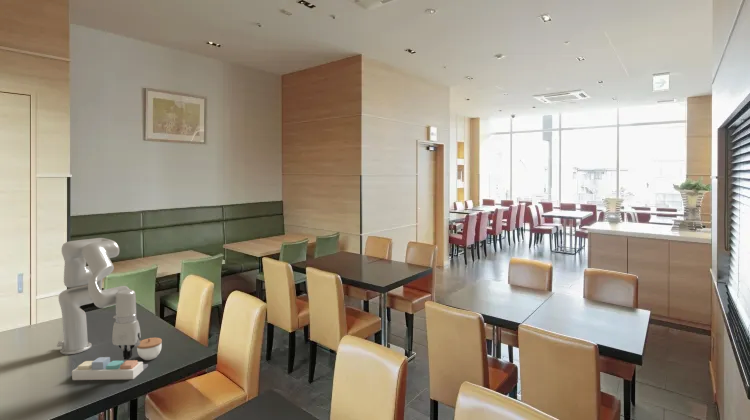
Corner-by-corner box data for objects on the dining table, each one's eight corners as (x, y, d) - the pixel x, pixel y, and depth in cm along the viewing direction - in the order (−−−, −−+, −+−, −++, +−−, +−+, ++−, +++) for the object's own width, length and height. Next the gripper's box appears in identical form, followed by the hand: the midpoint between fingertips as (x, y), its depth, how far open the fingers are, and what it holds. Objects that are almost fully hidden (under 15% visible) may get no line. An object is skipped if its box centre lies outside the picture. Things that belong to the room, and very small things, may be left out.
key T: (106, 376, 171) (105, 365, 171) (113, 371, 176) (112, 360, 175) (117, 376, 171) (117, 365, 171) (124, 371, 176) (123, 360, 175)
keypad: (72, 380, 169) (71, 371, 169) (91, 366, 181) (90, 358, 180) (133, 379, 170) (132, 370, 170) (148, 366, 182) (147, 357, 181)
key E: (78, 377, 170) (77, 366, 170) (86, 371, 175) (85, 361, 175) (89, 377, 171) (89, 366, 170) (97, 371, 175) (96, 360, 175)
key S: (92, 373, 171) (91, 362, 170) (99, 368, 175) (99, 357, 175) (103, 373, 171) (102, 362, 170) (110, 367, 176) (109, 357, 175)
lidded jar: (144, 364, 183) (143, 345, 182) (132, 358, 189) (131, 340, 188) (167, 355, 192) (166, 337, 192) (154, 350, 198) (154, 332, 197)
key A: (120, 376, 171) (120, 365, 171) (127, 371, 176) (126, 360, 176) (131, 376, 171) (131, 365, 171) (138, 370, 176) (137, 360, 176)
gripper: (103, 321, 168) (105, 362, 169) (138, 321, 168) (140, 362, 170) (114, 315, 175) (115, 354, 177) (148, 315, 176) (149, 354, 177)
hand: (127, 358), depth 173 cm, fingers closed
